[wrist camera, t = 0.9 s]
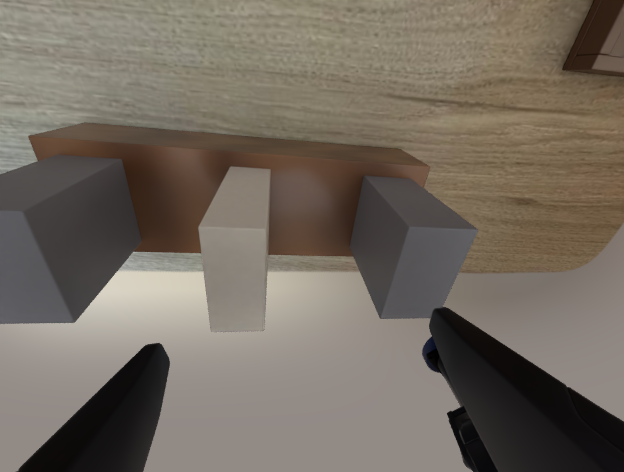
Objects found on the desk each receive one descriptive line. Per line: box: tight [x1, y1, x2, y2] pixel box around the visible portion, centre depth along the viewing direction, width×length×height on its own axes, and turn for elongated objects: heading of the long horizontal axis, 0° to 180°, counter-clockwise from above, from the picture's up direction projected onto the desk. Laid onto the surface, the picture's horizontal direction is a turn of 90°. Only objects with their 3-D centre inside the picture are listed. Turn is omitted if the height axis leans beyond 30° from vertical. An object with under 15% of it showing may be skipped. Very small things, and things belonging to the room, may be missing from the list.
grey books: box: [0, 155, 478, 324], centre depth 13 cm, size 19×5×6 cm, turn 84°
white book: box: [198, 167, 271, 332], centre depth 13 cm, size 2×5×7 cm, turn 174°
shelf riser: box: [28, 123, 430, 257], centre depth 18 cm, size 21×7×4 cm, turn 84°
